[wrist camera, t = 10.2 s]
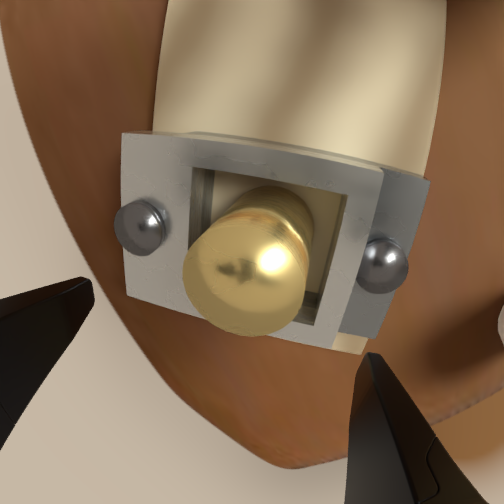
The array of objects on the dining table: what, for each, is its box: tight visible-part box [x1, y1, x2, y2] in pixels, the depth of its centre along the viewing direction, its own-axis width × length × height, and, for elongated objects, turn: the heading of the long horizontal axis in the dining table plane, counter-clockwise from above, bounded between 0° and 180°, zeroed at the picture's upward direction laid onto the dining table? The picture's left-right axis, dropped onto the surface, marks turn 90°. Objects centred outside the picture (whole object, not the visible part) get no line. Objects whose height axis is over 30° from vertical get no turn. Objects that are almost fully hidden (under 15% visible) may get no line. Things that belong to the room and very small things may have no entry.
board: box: [152, 0, 447, 355], centre depth 15 cm, size 14×22×1 cm, turn 173°
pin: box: [182, 185, 314, 336], centre depth 14 cm, size 4×4×6 cm
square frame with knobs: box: [114, 130, 431, 349], centre depth 15 cm, size 14×9×4 cm, turn 83°
